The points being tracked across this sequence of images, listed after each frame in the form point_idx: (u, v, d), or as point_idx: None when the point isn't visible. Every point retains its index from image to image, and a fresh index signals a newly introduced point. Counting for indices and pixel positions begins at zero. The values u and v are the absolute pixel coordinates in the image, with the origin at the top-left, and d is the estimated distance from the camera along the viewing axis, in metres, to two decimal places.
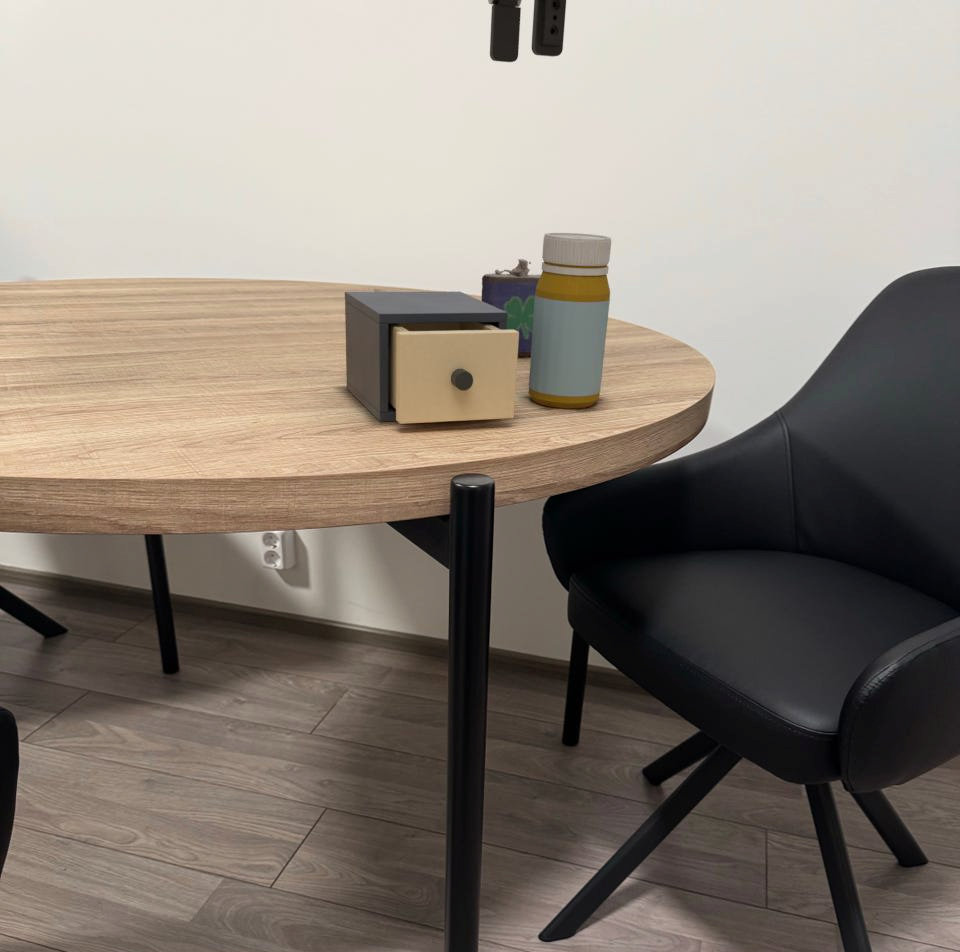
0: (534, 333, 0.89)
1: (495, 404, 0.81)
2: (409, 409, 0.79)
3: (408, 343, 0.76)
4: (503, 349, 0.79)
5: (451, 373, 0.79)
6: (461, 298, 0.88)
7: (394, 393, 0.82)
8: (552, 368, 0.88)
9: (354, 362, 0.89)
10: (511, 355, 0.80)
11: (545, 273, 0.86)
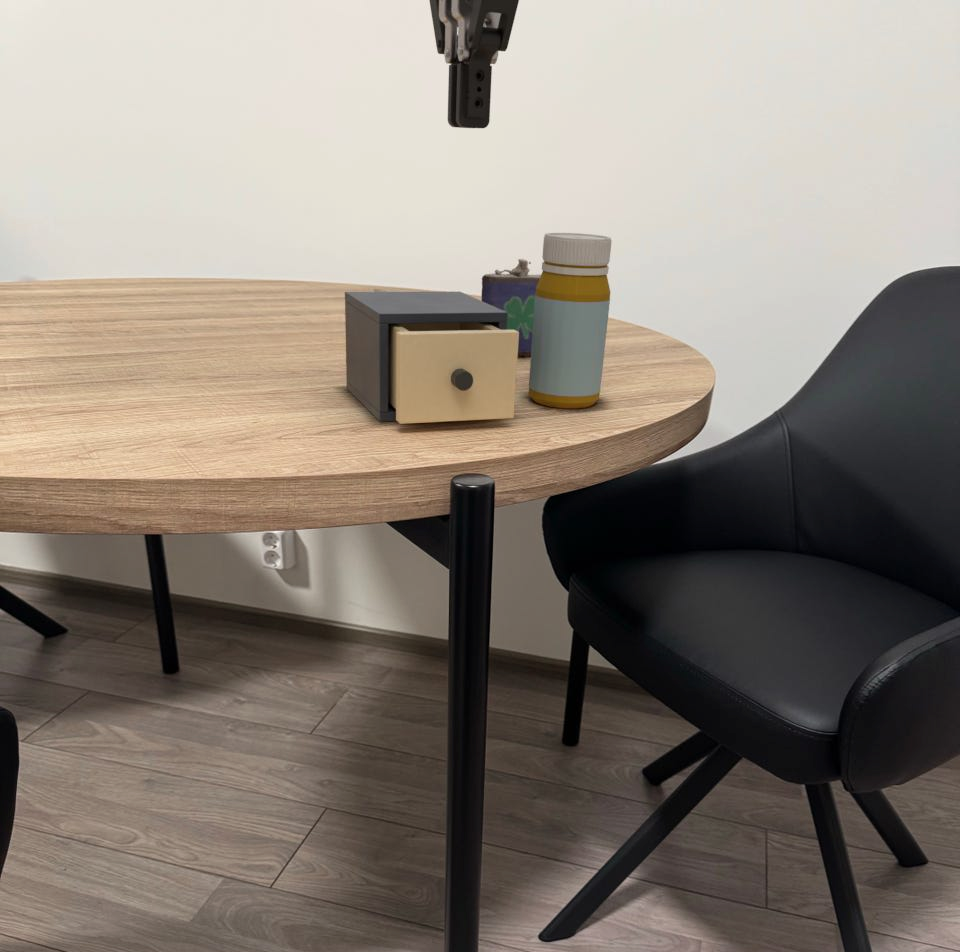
0: (534, 333, 0.89)
1: (495, 404, 0.81)
2: (409, 409, 0.79)
3: (408, 343, 0.76)
4: (503, 349, 0.79)
5: (451, 373, 0.79)
6: (461, 298, 0.88)
7: (394, 393, 0.82)
8: (552, 368, 0.88)
9: (354, 362, 0.89)
10: (511, 355, 0.80)
11: (545, 273, 0.86)
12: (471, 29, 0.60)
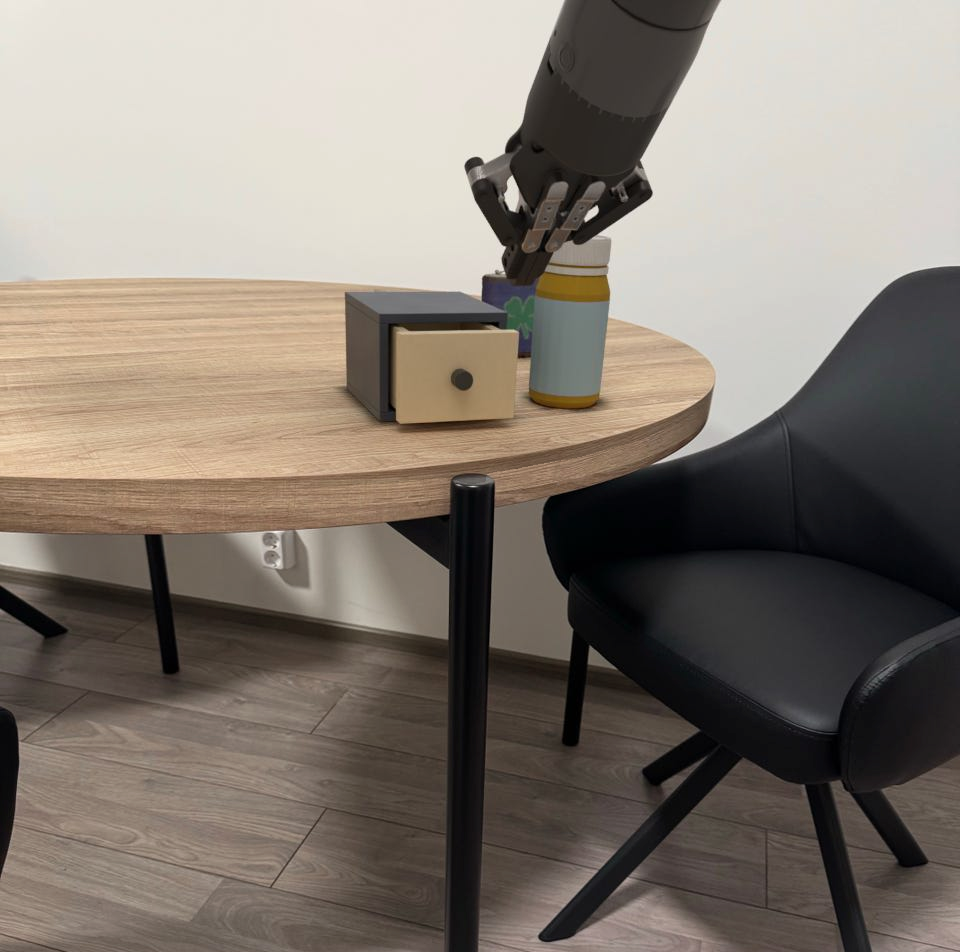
0: (534, 333, 0.89)
1: (495, 404, 0.81)
2: (409, 409, 0.79)
3: (408, 343, 0.76)
4: (503, 349, 0.79)
5: (451, 373, 0.79)
6: (461, 298, 0.88)
7: (394, 393, 0.82)
8: (552, 368, 0.88)
9: (354, 362, 0.89)
10: (511, 355, 0.80)
11: (545, 273, 0.86)
12: None
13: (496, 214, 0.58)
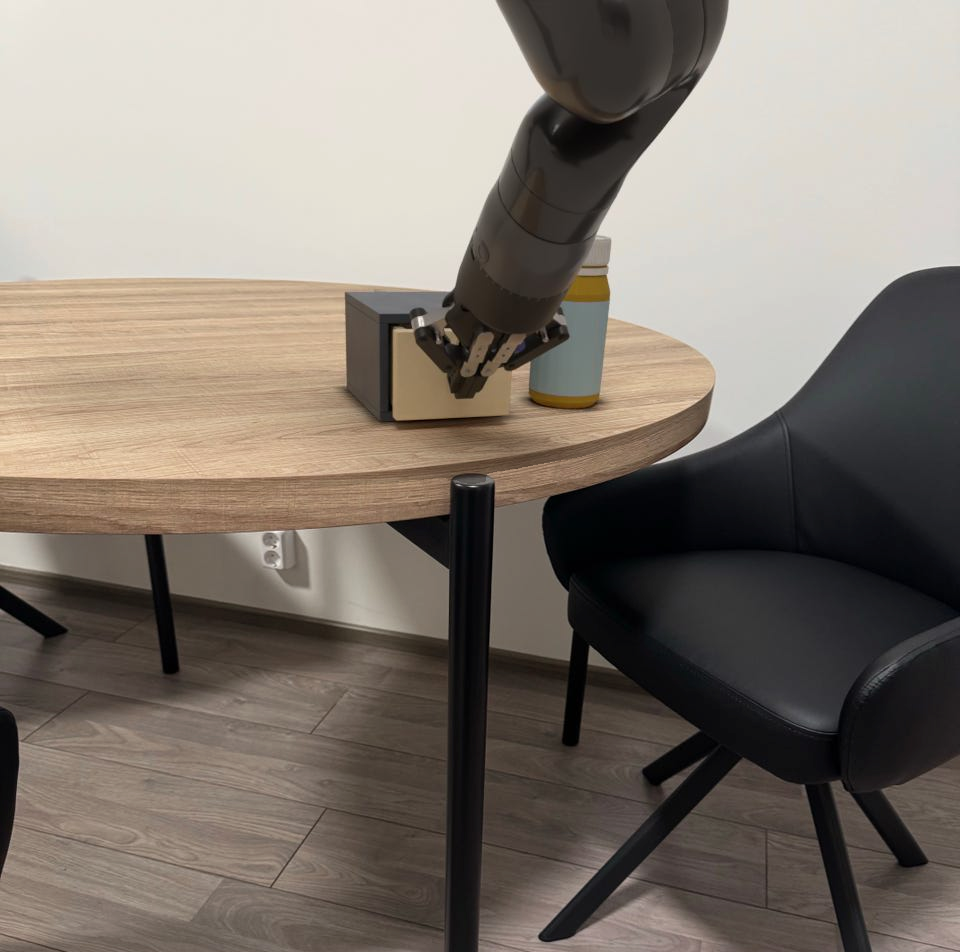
0: None
1: (491, 401, 0.82)
2: (405, 406, 0.80)
3: (404, 341, 0.77)
4: None
5: None
6: None
7: (391, 390, 0.83)
8: (552, 368, 0.88)
9: (354, 362, 0.89)
10: None
11: None
12: None
13: (435, 352, 0.70)
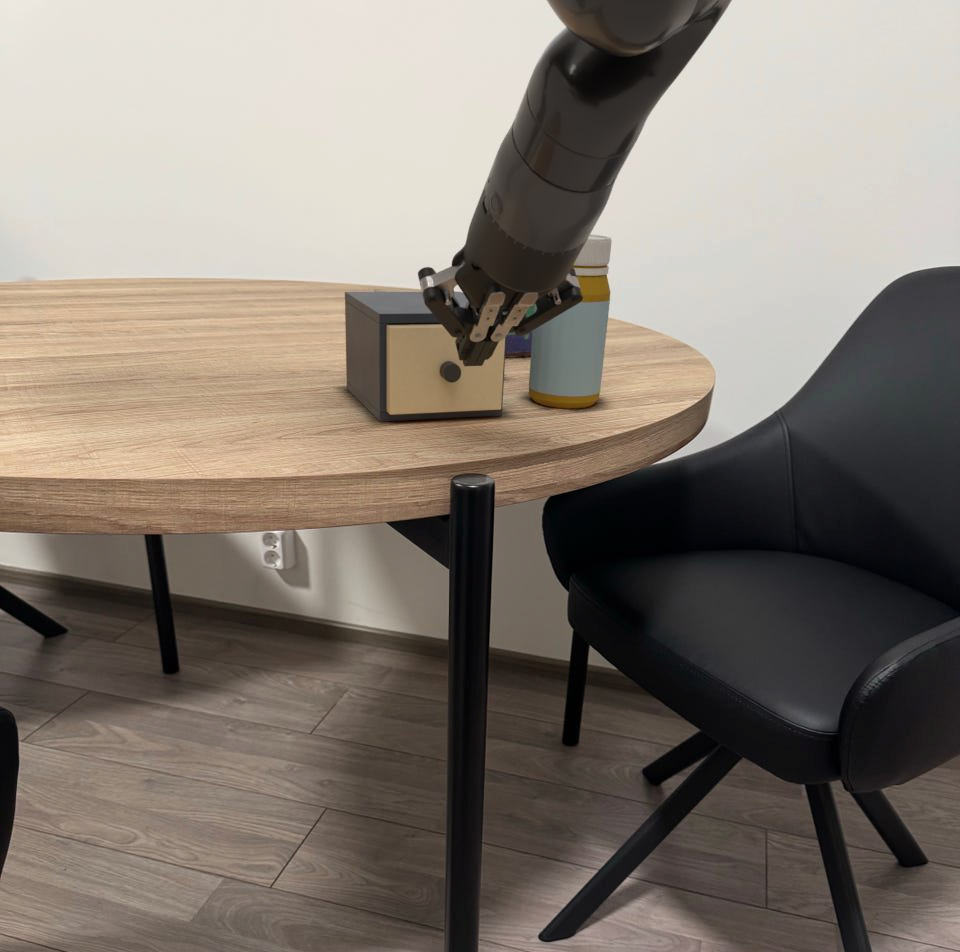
0: (534, 333, 0.89)
1: (483, 396, 0.84)
2: (399, 401, 0.81)
3: (398, 336, 0.79)
4: None
5: (440, 366, 0.81)
6: (461, 298, 0.88)
7: None
8: (552, 368, 0.88)
9: (354, 362, 0.89)
10: (498, 348, 0.82)
11: None
12: None
13: (445, 314, 0.68)
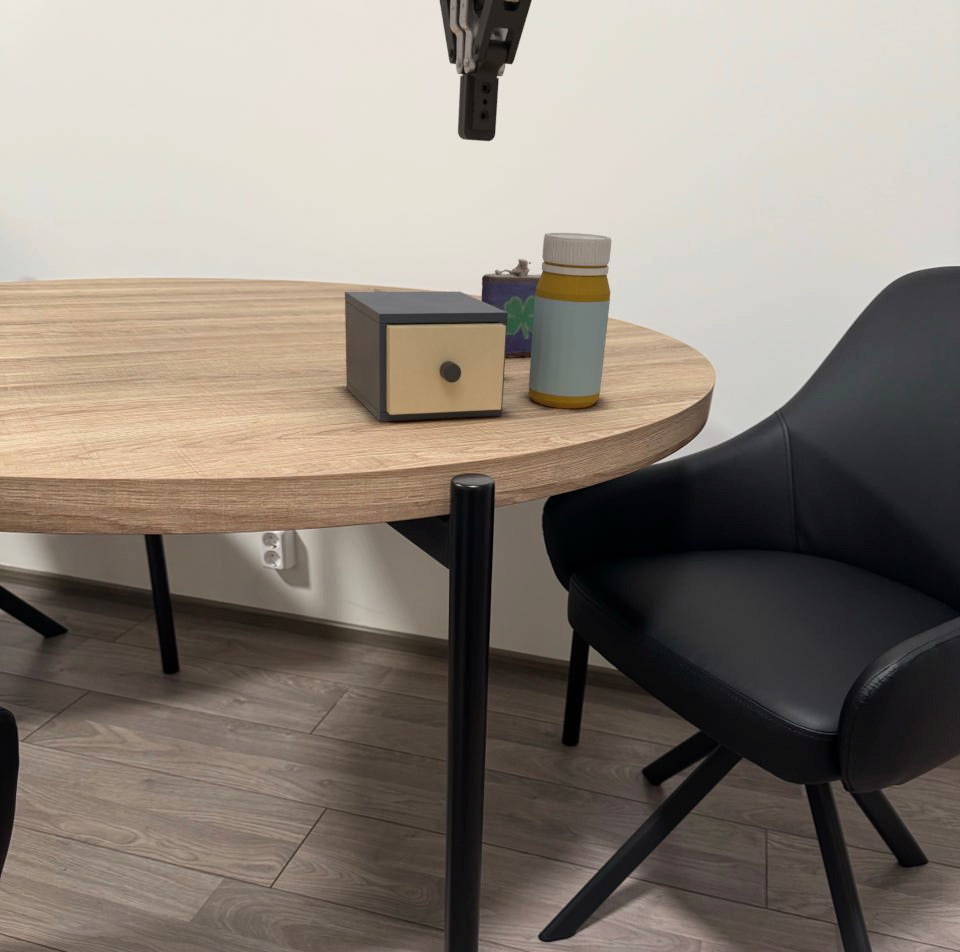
0: (534, 333, 0.89)
1: (483, 396, 0.84)
2: (399, 401, 0.81)
3: (398, 336, 0.79)
4: (490, 342, 0.82)
5: (440, 366, 0.81)
6: (461, 298, 0.88)
7: None
8: (552, 368, 0.88)
9: (354, 362, 0.89)
10: (498, 348, 0.82)
11: (545, 273, 0.86)
12: (477, 42, 0.59)
13: None
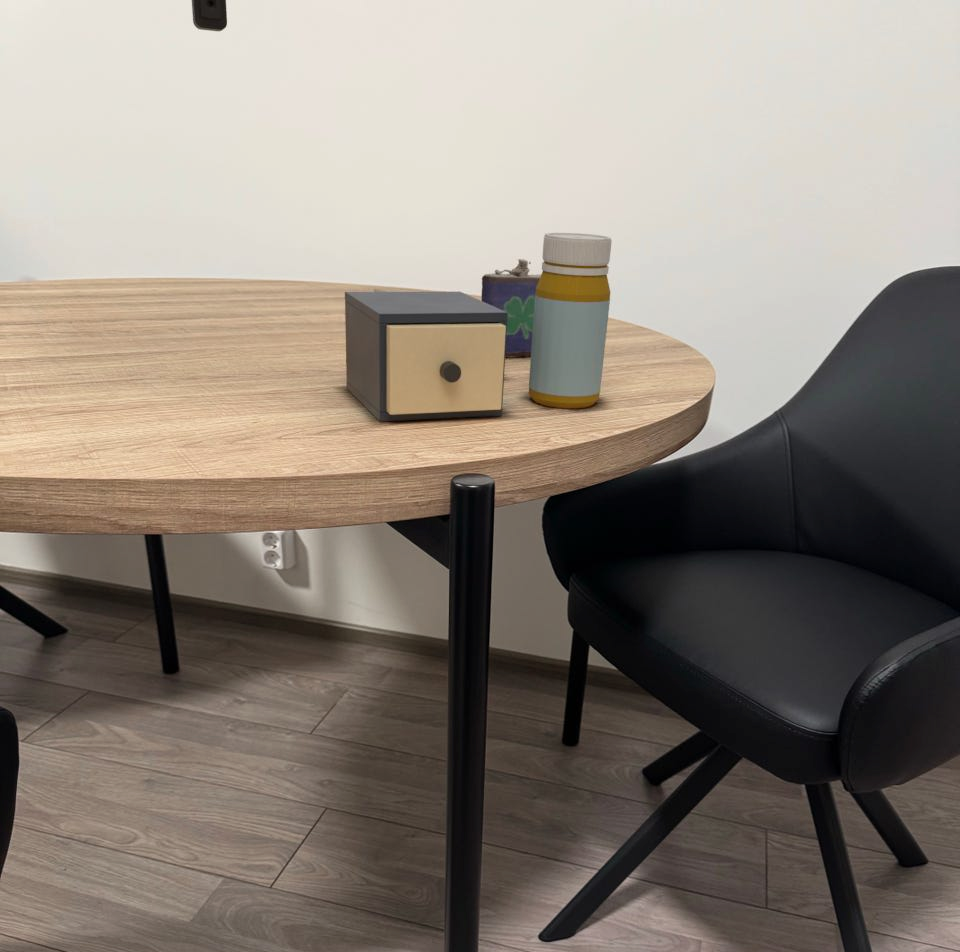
0: (534, 333, 0.89)
1: (483, 396, 0.84)
2: (399, 401, 0.81)
3: (398, 336, 0.79)
4: (490, 342, 0.82)
5: (440, 366, 0.81)
6: (461, 298, 0.88)
7: None
8: (552, 368, 0.88)
9: (354, 362, 0.89)
10: (498, 348, 0.82)
11: (545, 273, 0.86)
12: None
13: None
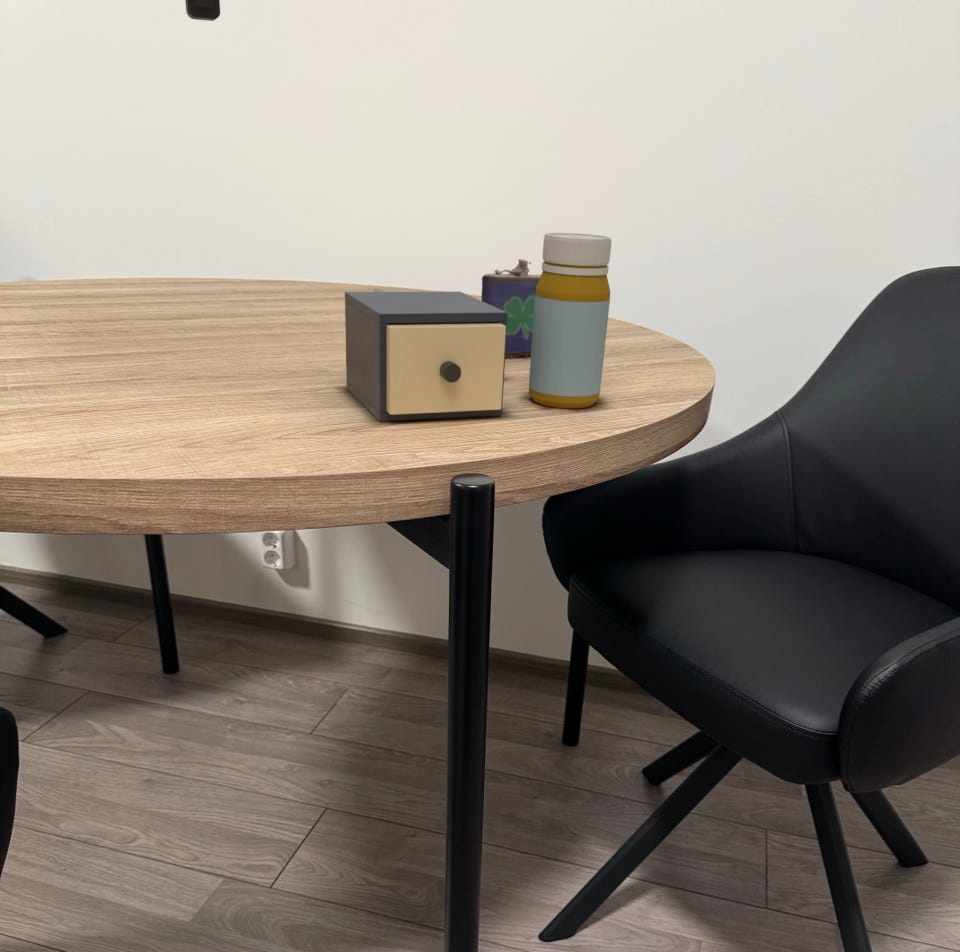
0: (534, 333, 0.89)
1: (483, 396, 0.84)
2: (399, 401, 0.81)
3: (398, 336, 0.79)
4: (490, 342, 0.82)
5: (440, 366, 0.81)
6: (461, 298, 0.88)
7: None
8: (552, 368, 0.88)
9: (354, 362, 0.89)
10: (498, 348, 0.82)
11: (545, 273, 0.86)
12: None
13: None
